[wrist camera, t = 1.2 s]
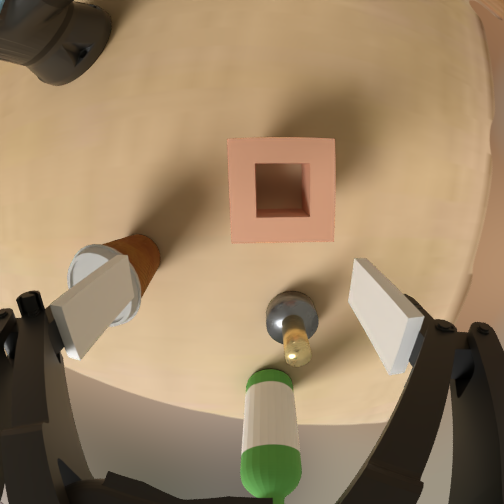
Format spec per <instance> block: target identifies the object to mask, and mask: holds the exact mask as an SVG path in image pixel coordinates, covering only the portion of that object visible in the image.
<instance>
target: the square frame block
mask: <svg viewBox="0 0 504 504" xmlns="http://www.w3.org/2000/svg"><path fill="white" fill-rule="evenodd" d="M227 151H228V177H229V200H230V221H231V241H232V244H233V243H280V242H334V228H335V139H331V138H308V137H256V138H232V139H227ZM256 164H301V169H302V208H300V209H257V187H256Z"/></svg>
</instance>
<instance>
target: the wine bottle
mask: <svg viewBox="0 0 504 504" xmlns="http://www.w3.org/2000/svg"><path fill="white" fill-rule="evenodd" d="M301 470H302V469H301V458H300V446H299V436H298V427H297V417H296V408H295V399H294V392H293V385H292V381H291V379H290V378H289V376H288V375H287V374H285V373H284V372H282V371H279V370H275V369H266V370H261V371H259V372H256V373H255V374H253V375H252V376H251V377H250V378H249V380H248V383H247V386H246V396H245V410H244V425H243V439H242V453H241V469H240V474H241V480H242V483H243V485H244V487H245V488H246V489H247V490H248V491H249V492H250V493H251V494H252V495H254V496H255V497H257V498H273V504H284V498H285V497H286V496H287V495H289V494H290V493H291V492H292V491H293V490H294V489H295V488H296V487H297V485H298V483H299V481H300V478H301V474H302V471H301Z"/></svg>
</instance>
